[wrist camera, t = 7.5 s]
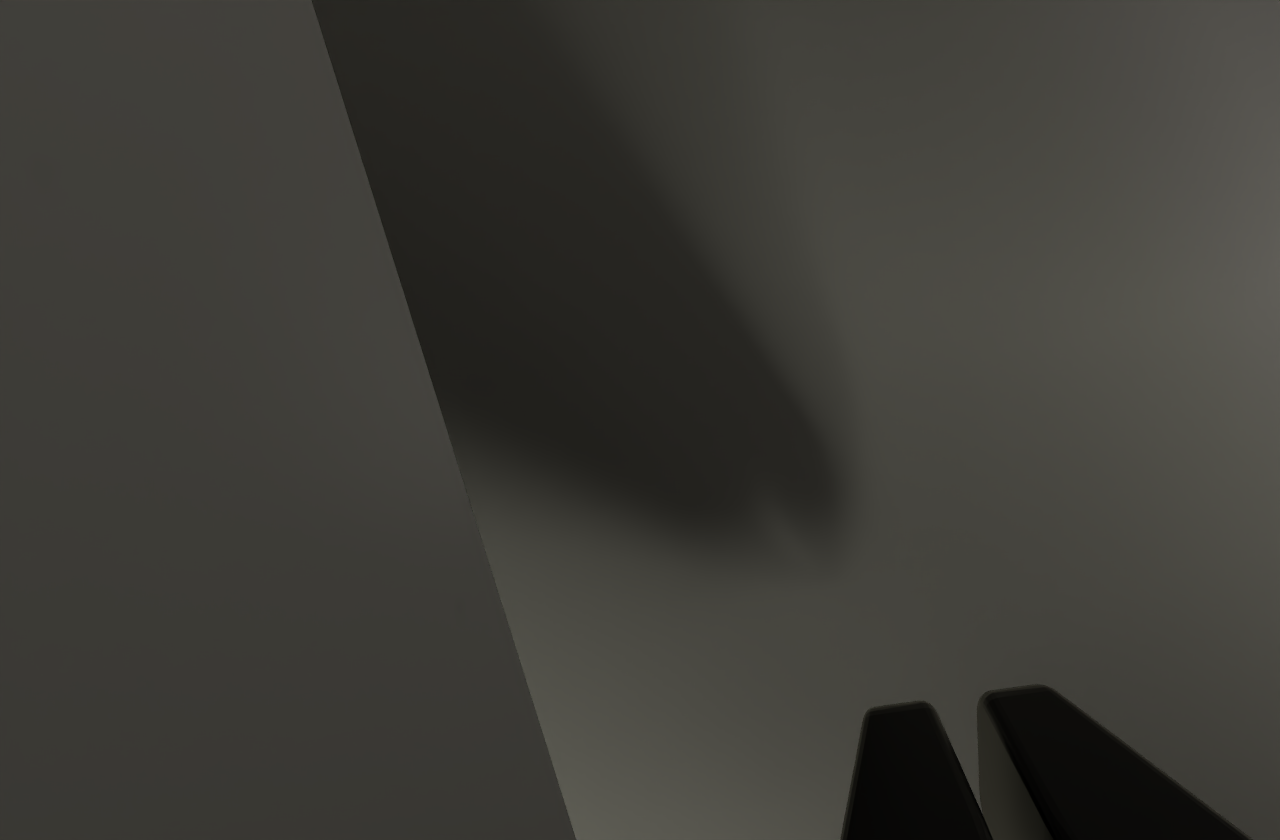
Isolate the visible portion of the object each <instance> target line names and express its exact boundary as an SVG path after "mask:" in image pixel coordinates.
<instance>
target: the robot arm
mask: <svg viewBox="0 0 1280 840" xmlns="http://www.w3.org/2000/svg"><path fill="white" fill-rule="evenodd" d="M977 732H978V764H979V791H980V800H981V806H982V812H983V814H982V812H981V810H980V808H979V806H978V803H977V801H976V799H975V797H974V794H973V792H972V790H971V788H970V785H969V783H968V781H967V779H966V776H965V774H964V772H963V770H962V767H961V765H960V763H959V761H958V758H957V756H956V754H955V752H954V749H953V747H952V745H951V743H950V740H949V738H948V736H947V734H946V731H945V729H944V727H943V725H942V723H941V720H940V718H939V716H938V714H937V712H936V710H935V709H934V707H933V706H932V705H931V704H930V703H928V702H926V701H913V702H906V703H899V704H891V705H884V706H877V707H873V708H870V709H869V710H868V711H867V712H866V714H865V715H864V718H863V723H862V728H861V733H860V739H859V744H858V749H857V754H856V760H855V765H854V770H853V776H852V781H851V786H850V791H849V797H848V802H847V807H846V813H845V818H844V823H843V829H842V834H841V839H840V840H1253V839H1251V838H1250V837H1249V836H1247V835H1246V834H1245V833H1243V832H1242V831H1241V830H1240V829H1238V828H1237V827H1236V826H1234V825H1233V824H1232V823H1230V822H1229V821H1228V820H1226V819H1225V818H1224V817H1222V816H1221V815H1220V814H1218V813H1217V812H1216V811H1214V810H1213V809H1212V808H1210V807H1209V806H1208V805H1206V804H1205V803H1204V802H1203V801H1201V800H1200V799H1199V798H1197V797H1196V796H1195V795H1193V794H1192V793H1191V792H1189V791H1188V790H1187V789H1185V788H1184V787H1183V786H1181V785H1180V784H1179V783H1177V782H1176V781H1175V780H1173V779H1172V778H1171V777H1169V776H1168V775H1167V774H1165V773H1164V772H1163V771H1162V770H1160V769H1159V768H1158V767H1156V766H1155V765H1154V764H1152V763H1151V762H1150V761H1148V760H1147V759H1146V758H1144V757H1143V756H1142V755H1140V754H1139V753H1138V752H1136V751H1135V750H1134V749H1132V748H1131V747H1130V746H1128V745H1127V744H1126V743H1124V742H1123V741H1122V740H1121V739H1119V738H1118V737H1117V736H1115V735H1114V734H1113V733H1111V732H1110V731H1109V730H1107V729H1106V728H1105V727H1103V726H1102V725H1101V724H1099V723H1098V722H1097V721H1095V720H1094V719H1093V718H1091V717H1090V716H1089V715H1087V714H1086V713H1085V712H1084V711H1082V710H1081V709H1080V708H1078V707H1077V706H1076V705H1074V704H1073V703H1072V702H1070V701H1069V700H1068V699H1066V698H1065V697H1064V696H1062V695H1061V694H1060V693H1058V692H1057V691H1056V690H1054V689H1052V688H1050V687H1048V686H1045V685H1040V684H1035V685H1027V686H1020V687H1013V688H1006V689H999V690H991V691H988V692H986V693H985V694H983V695H982V696H981V697H980V699H979V702H978V706H977Z"/></svg>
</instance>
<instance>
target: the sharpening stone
mask: <svg viewBox="0 0 1280 840" xmlns="http://www.w3.org/2000/svg"><path fill="white" fill-rule="evenodd" d="M0 840H576V838H575V835H574V832H573V828H572V825H571V822H570V819H569V816H568V813H567V809H566V806H565V803H564V800H563V797H562V793H561V790H560V787H559V784H558V781H557V778H556V774H555V771H554V768H553V765H552V762H551V759H550V755H549V752H548V749H547V746H546V743H545V740H544V736H543V733H542V730H541V727H540V724H539V720H538V717H537V714H536V711H535V708H534V705H533V701H532V698H531V695H530V692H529V689H528V686H527V682H526V679H525V676H524V673H523V670H522V667H521V663H520V660H519V657H518V654H517V651H516V648H515V644H514V641H513V638H512V635H511V632H510V628H509V625H508V622H507V619H506V616H505V613H504V609H503V606H502V603H501V600H500V597H499V594H498V590H497V587H496V584H495V581H494V578H493V575H492V571H491V568H490V565H489V562H488V559H487V555H486V552H485V549H484V546H483V543H482V540H481V536H480V533H479V530H478V527H477V524H476V521H475V517H474V514H473V511H472V508H471V505H470V502H469V498H468V495H467V492H466V489H465V486H464V483H463V479H462V476H461V473H460V470H459V467H458V463H457V460H456V457H455V454H454V451H453V448H452V444H451V441H450V438H449V435H448V432H447V429H446V425H445V422H444V419H443V416H442V413H441V410H440V406H439V403H438V400H437V397H436V394H435V391H434V387H433V384H432V381H431V378H430V375H429V371H428V368H427V365H426V362H425V359H424V356H423V352H422V349H421V346H420V343H419V340H418V337H417V333H416V330H415V327H414V324H413V321H412V318H411V314H410V311H409V308H408V305H407V302H406V299H405V295H404V292H403V289H402V286H401V283H400V279H399V276H398V273H397V270H396V267H395V264H394V260H393V257H392V254H391V251H390V248H389V245H388V241H387V238H386V235H385V232H384V229H383V226H382V222H381V219H380V216H379V213H378V210H377V206H376V203H375V200H374V197H373V194H372V191H371V187H370V184H369V181H368V178H367V175H366V172H365V168H364V165H363V162H362V159H361V156H360V153H359V149H358V146H357V143H356V140H355V137H354V134H353V130H352V127H351V124H350V121H349V118H348V114H347V111H346V108H345V105H344V102H343V99H342V95H341V92H340V89H339V86H338V83H337V80H336V76H335V73H334V70H333V67H332V64H331V61H330V57H329V54H328V51H327V48H326V45H325V41H324V38H323V35H322V32H321V29H320V26H319V22H318V19H317V16H316V13H315V10H314V7H313V3H312V0H0Z"/></svg>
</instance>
